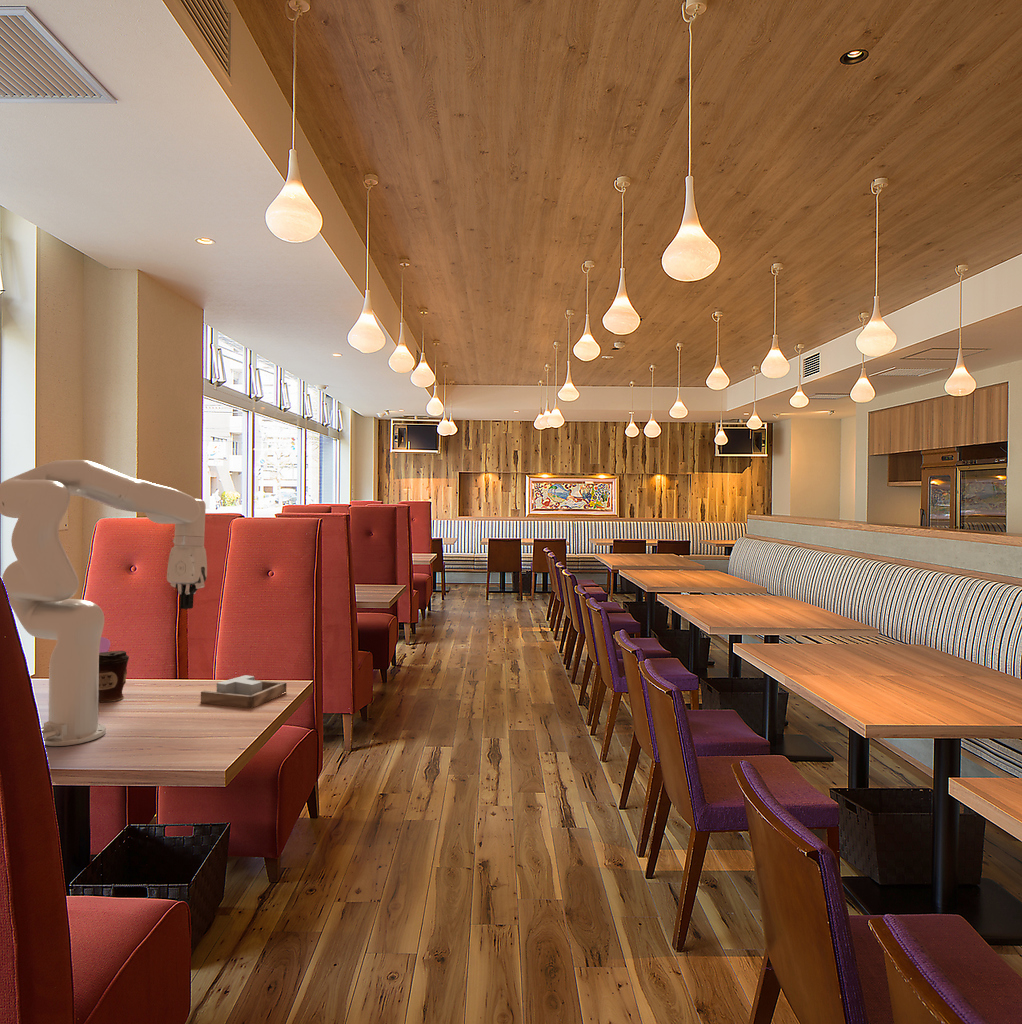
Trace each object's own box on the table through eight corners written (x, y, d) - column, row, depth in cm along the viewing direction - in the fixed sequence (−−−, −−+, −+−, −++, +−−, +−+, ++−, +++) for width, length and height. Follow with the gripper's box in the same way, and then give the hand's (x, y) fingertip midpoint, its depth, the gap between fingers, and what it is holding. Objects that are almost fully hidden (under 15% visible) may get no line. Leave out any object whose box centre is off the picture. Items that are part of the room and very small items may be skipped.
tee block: (242, 706, 175) (242, 687, 175) (216, 701, 179) (216, 682, 179) (271, 696, 184) (271, 679, 184) (245, 692, 188) (245, 675, 188)
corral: (251, 708, 173) (251, 697, 173) (200, 702, 178) (200, 691, 178) (286, 693, 188) (286, 682, 188) (239, 688, 192) (239, 678, 192)
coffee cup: (115, 704, 175) (115, 656, 175) (84, 704, 175) (85, 655, 175) (134, 695, 184) (135, 649, 184) (105, 695, 184) (106, 649, 184)
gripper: (157, 542, 181) (154, 608, 180) (201, 543, 176) (198, 611, 176) (178, 542, 188) (175, 605, 187) (220, 543, 184) (218, 608, 183)
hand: (186, 608), depth 181 cm, fingers closed
